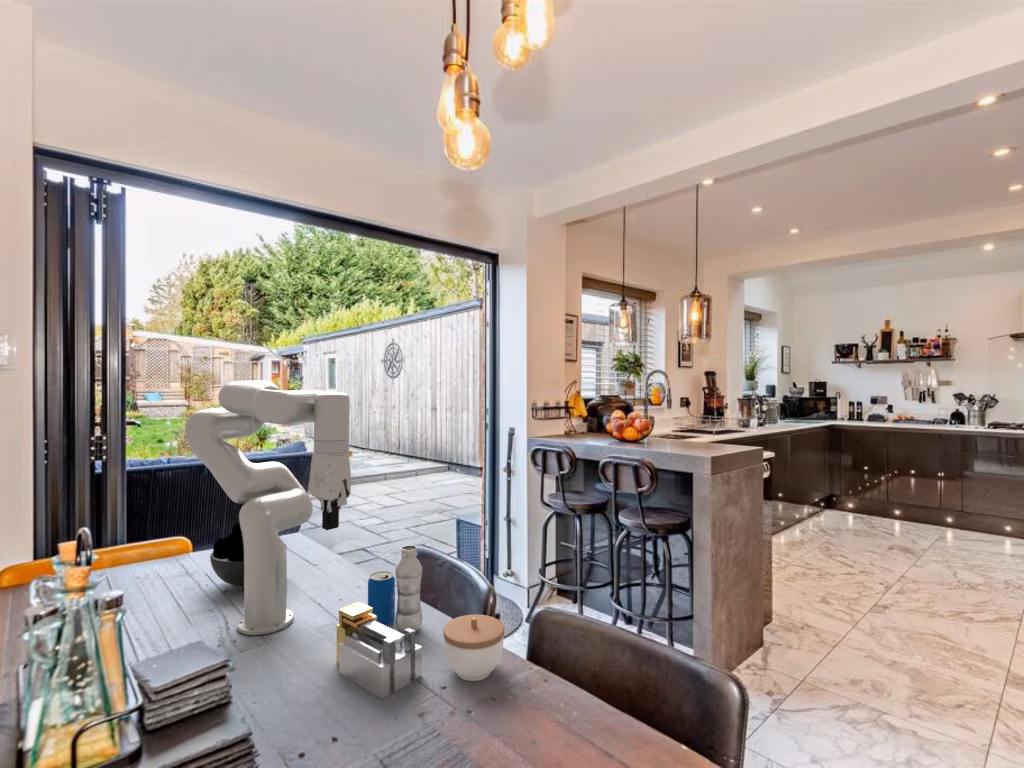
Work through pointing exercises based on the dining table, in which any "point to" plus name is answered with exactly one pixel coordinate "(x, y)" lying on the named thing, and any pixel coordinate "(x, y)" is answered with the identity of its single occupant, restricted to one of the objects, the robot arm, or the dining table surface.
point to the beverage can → (382, 596)
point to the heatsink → (380, 662)
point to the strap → (376, 628)
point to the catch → (351, 613)
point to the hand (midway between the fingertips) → (330, 528)
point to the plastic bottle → (408, 590)
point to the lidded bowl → (473, 645)
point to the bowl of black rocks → (230, 557)
